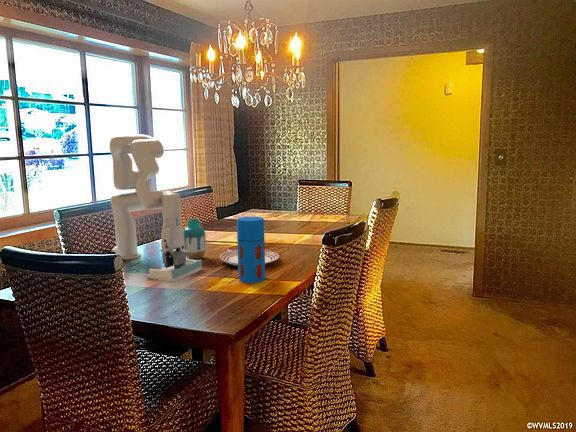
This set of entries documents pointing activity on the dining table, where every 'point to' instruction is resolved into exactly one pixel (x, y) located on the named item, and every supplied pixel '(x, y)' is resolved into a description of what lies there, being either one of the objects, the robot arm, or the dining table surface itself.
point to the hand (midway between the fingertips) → (174, 263)
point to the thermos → (251, 249)
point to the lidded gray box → (176, 259)
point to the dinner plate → (232, 257)
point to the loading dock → (176, 271)
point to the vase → (194, 239)
